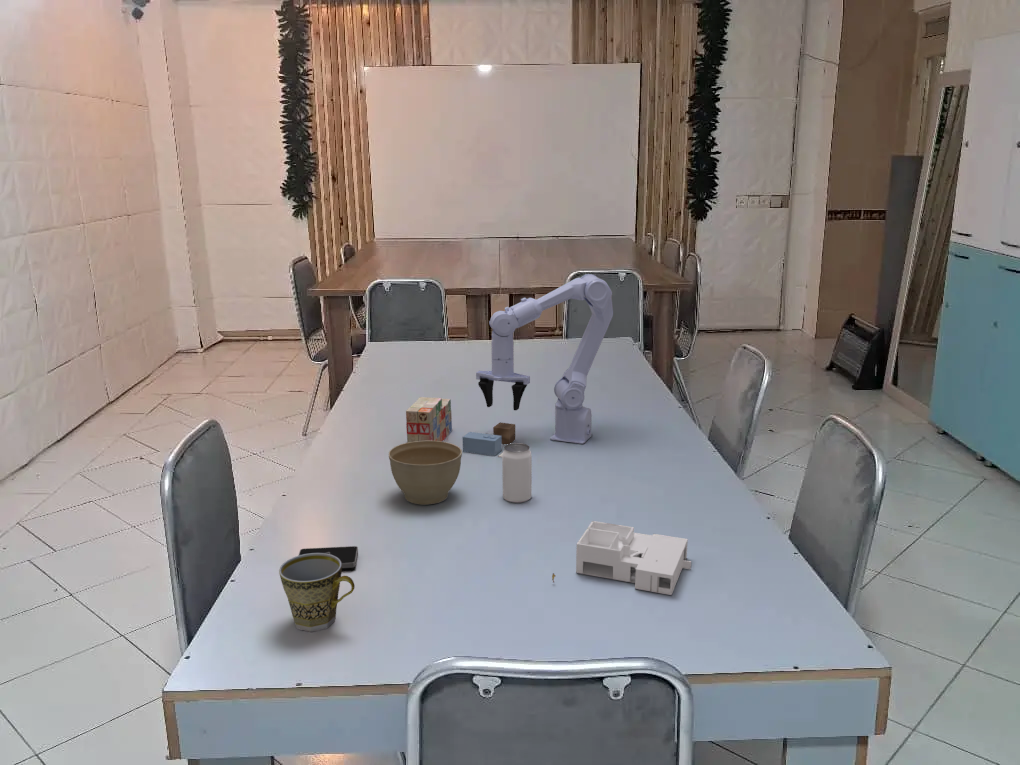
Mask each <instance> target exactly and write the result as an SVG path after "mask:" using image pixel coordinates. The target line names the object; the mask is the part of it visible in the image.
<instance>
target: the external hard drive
mask: <svg viewBox="0 0 1020 765" xmlns="http://www.w3.org/2000/svg"><path fill="white" fill-rule="evenodd" d="M309 553H326V554H331V555H334V556H336V557H337V558H339V559H340V560H341V562H342V572H350V571H351V572H352V571H355V570H356V569H357V568H356V567H357V563H358V557H359V547H358V546H357V545H352V546H349V545H348V546H330V547H328V546H327V547H306V548H302V549H300V550H299V553H298V555H297V556H299V555H303V554H309Z"/></svg>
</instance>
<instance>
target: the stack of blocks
mask: <svg viewBox="0 0 1020 765" xmlns="http://www.w3.org/2000/svg"><path fill="white" fill-rule="evenodd" d="M451 402H452V401H451V398H442V397H426V396H419V397H418V398H417V399H416V401H415V402H414V403H412V405H411V406H409V407H408V408H407V409H406V410H405V418H406V419H405V420H406V424H405V425H406V443H408V442H415V441H443V440H445V439H446V438H448V436H449V435H450V433H451V432H452V431H453V423H452V422H453V418H452V417H453V416H452V403H451ZM443 442H444V441H443Z"/></svg>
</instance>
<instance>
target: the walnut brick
mask: <svg viewBox="0 0 1020 765" xmlns="http://www.w3.org/2000/svg"><path fill="white" fill-rule="evenodd" d="M492 435H499V436H502V445H504V444H510V443H511V444H512V443H513V441H514V440H515V441H516V423H508V422H502V421H501V422H499V423H497V424H495V425H494V426H493V428H492Z"/></svg>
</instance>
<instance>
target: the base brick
mask: <svg viewBox="0 0 1020 765" xmlns="http://www.w3.org/2000/svg"><path fill="white" fill-rule="evenodd" d="M502 445H503V444H502V436H499V435H493V433H492V434H491V433H482V432H476V431H475V432H474V431H468V432H467V433H466V434H465V435H463V436H462V453H469V454H470V453H471V454H476V453H477V454H479V455H484V456H491V457H496V456H497V455H498V454H499V453H500V452H502V451H501V450H502V449H503V448H502Z"/></svg>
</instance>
